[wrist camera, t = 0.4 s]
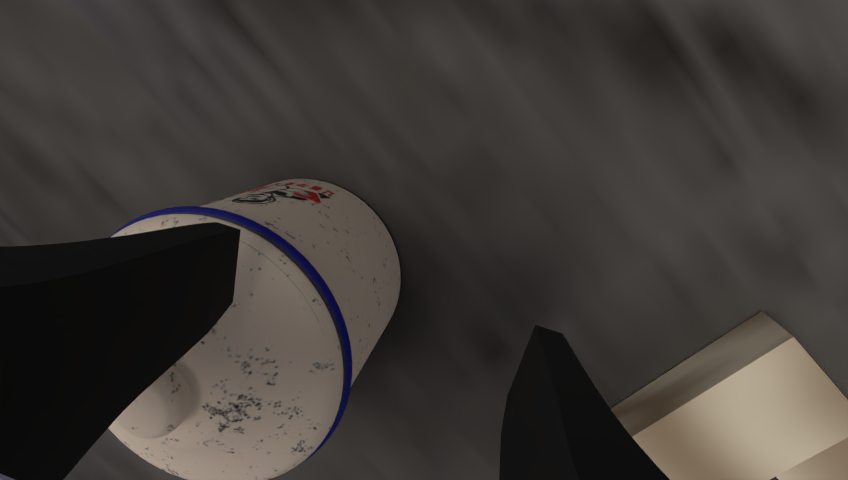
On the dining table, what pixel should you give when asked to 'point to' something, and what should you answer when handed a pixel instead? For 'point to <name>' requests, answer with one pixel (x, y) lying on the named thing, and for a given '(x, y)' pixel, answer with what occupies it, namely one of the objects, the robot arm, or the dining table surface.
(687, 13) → the dining table surface
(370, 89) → the dining table surface
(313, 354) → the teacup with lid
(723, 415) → the notched board
